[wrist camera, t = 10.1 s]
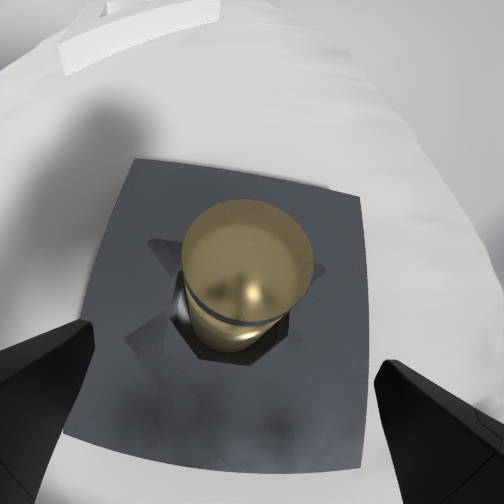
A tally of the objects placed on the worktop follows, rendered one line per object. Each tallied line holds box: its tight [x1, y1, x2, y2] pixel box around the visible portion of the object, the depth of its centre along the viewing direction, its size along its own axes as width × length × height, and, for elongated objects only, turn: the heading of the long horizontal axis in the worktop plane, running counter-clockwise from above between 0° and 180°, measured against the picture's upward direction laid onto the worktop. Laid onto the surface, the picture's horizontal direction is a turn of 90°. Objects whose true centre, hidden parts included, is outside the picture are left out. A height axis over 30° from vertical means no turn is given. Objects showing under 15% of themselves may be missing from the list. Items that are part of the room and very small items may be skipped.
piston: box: [181, 199, 314, 353], centre depth 15 cm, size 5×5×10 cm
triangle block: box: [58, 0, 221, 77], centre depth 33 cm, size 30×26×6 cm
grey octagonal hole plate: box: [63, 159, 369, 474], centre depth 19 cm, size 20×18×3 cm
